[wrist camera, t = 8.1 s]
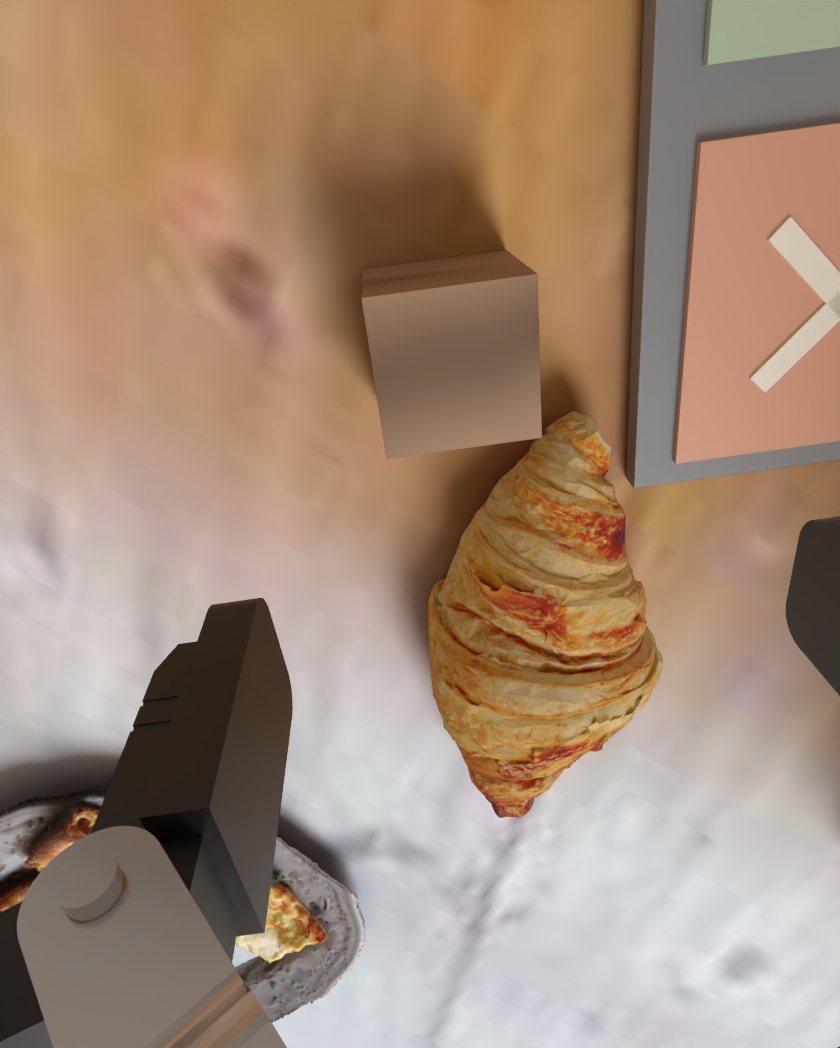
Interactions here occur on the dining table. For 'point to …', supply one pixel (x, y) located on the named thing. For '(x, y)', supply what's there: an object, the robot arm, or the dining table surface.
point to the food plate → (283, 950)
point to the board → (736, 240)
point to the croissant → (541, 622)
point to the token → (454, 352)
